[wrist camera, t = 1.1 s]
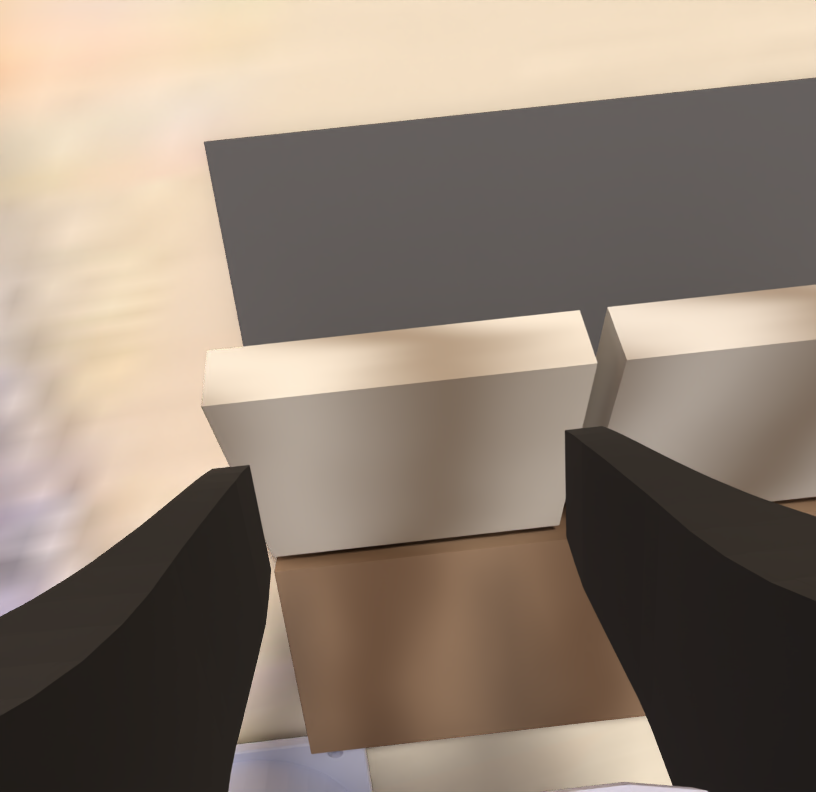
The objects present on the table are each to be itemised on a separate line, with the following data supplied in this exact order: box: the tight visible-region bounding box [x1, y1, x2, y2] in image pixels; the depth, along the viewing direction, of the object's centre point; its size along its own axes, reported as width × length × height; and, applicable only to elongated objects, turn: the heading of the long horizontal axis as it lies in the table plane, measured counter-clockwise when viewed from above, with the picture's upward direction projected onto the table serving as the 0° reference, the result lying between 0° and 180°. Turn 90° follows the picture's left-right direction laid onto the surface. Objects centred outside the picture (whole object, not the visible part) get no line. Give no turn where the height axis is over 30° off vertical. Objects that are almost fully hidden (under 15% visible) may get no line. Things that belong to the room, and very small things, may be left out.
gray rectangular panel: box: [204, 78, 816, 502], centre depth 19 cm, size 17×11×1 cm, turn 96°
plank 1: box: [201, 310, 597, 557], centre depth 18 cm, size 8×7×2 cm
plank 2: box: [582, 285, 816, 502], centre depth 18 cm, size 8×7×2 cm
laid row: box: [275, 497, 816, 754], centre depth 22 cm, size 17×7×2 cm, turn 96°
